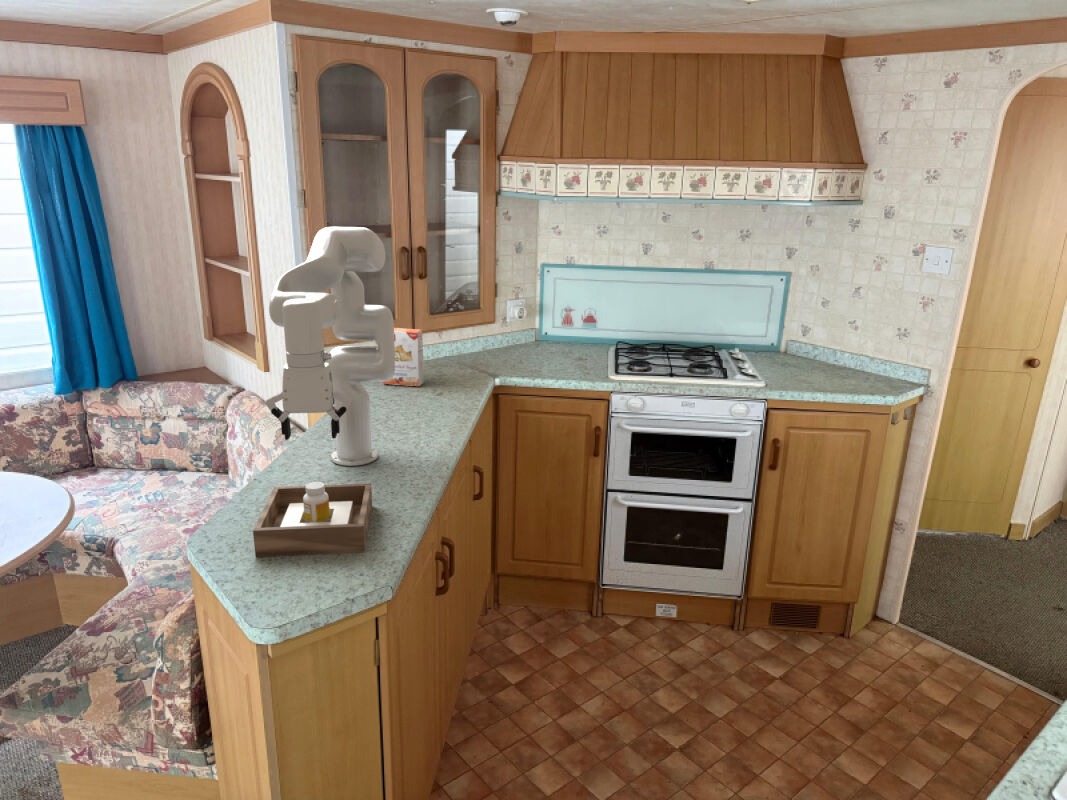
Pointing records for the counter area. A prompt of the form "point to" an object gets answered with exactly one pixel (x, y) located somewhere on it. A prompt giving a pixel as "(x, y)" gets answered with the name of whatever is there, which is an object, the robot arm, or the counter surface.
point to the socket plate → (338, 515)
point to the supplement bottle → (316, 503)
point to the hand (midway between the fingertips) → (311, 436)
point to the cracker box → (408, 357)
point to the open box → (317, 537)
